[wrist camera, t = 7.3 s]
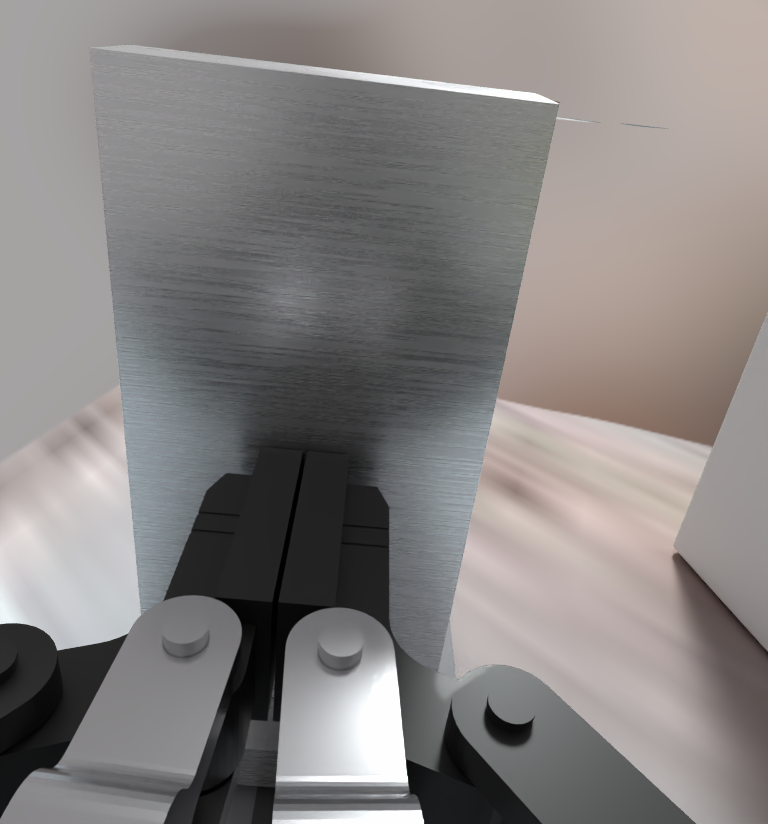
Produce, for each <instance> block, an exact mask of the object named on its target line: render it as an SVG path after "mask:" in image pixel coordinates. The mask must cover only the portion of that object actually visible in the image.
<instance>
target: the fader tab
mask: <svg viewBox="0 0 768 824" xmlns="http://www.w3.org/2000/svg"><path fill="white" fill-rule="evenodd" d="M89 50H90V61H91V72H92V83H93V94H94V105H95V116H96V127H97V136H98V148H99V159H100V170H101V181H102V191H103V203H104V214H105V225H106V236H107V247H108V258H109V268H110V280H111V291H112V302H113V313H114V324H115V335H116V346H117V357H118V367H119V379H120V389H121V400H122V411H123V422H124V433H125V444H126V455H127V466H128V477H129V488H130V499H131V510H132V521H133V532H134V543H135V554H136V565H137V576H138V587H139V598H140V609H141V615H142V614H143V613H144V612H146V611H147V610H148V609H149V608H151V607H153V606H155V605H156V604H158V603H160V602H163V600H164V598H165V595H166V592H167V590H168V587H169V585H170V582H171V580H172V577H173V575H174V572H175V570H176V567H177V565H178V562H179V559H180V557H181V554H182V552H183V549H184V547H185V544H186V542H187V539H188V537H189V534H190V533H191V531H192V527H193V524H194V521H195V519H196V516H198V512H199V509H200V506H201V504H202V501H203V499H204V496H205V494H206V491H207V489H209V488H210V487H211V486H212V485H213V484H214V483H216V482H217V481H218V480H219V479H220V478H221V477H222V476H224V475H225V474H226V473H234V474H244V475H252V474H253V471H254V467H255V464H256V461H257V458H258V454H259V451H260V449H261V447H270V448H280V449H291V450H301V451H304V466H305V461H306V456H307V452H308V451H313V452H324V453H334V454H345V455H349V464H348V474H347V484H353V485H364V486H375V487H378V489H379V491H380V492H381V494H382V495H383V497H384V499H385V500H386V502H387V504H388V505H389V619H390V627H391V630H392V633H393V635H394V637H395V639H396V641H397V643H398V644H399V645H400V647H401V648H402V649H403V650H404V651H405V652H406V653H407V654H408V655H409V656H410V657H412V658H413V659H414V660H415V661H417V662H419V663H420V664H422V665H424V666H426V667H428V668H430V669H432V670H435V671H438V670H439V665H440V660H441V656H442V651H443V646H444V642H445V637H446V632H447V628H448V623H449V618H450V614H451V609H452V604H453V600H454V595H455V590H456V586H457V581H458V576H459V571H460V567H461V562H462V557H463V553H464V548H465V543H466V539H467V534H468V529H469V525H470V520H471V515H472V511H473V506H474V501H475V496H476V492H477V487H478V482H479V478H480V473H481V468H482V464H483V459H484V454H485V450H486V445H487V440H488V436H489V431H490V426H491V422H492V417H493V412H494V407H495V403H496V398H497V393H498V389H499V384H500V379H501V375H502V370H503V365H504V361H505V356H506V351H507V346H508V342H509V337H510V333H511V328H512V323H513V318H514V314H515V309H516V304H517V300H518V295H519V289H520V286H521V281H522V276H523V272H524V267H525V262H526V258H527V253H528V248H529V243H530V239H531V234H532V229H533V225H534V220H535V215H536V211H537V206H538V201H539V197H540V192H541V187H542V183H543V178H544V173H545V168H546V164H547V159H548V155H549V150H550V145H551V140H552V136H553V131H554V126H555V122H556V117H557V112H558V108H559V104H558V103H556V102H554V101H551V100H549V99H547V98H545V97H543V96H540V95H538V94H535V93H527V92H519V91H510V90H502V89H494V88H485V87H477V86H468V85H460V84H452V83H443V82H435V81H427V80H419V79H410V78H402V77H394V76H386V75H377V74H368V73H360V72H351V71H344V70H336V69H327V68H319V67H310V66H301V65H294V64H285V63H277V62H269V61H261V60H252V59H244V58H236V57H227V56H219V55H210V54H202V53H194V52H186V51H177V50H169V49H160V48H153V47H144V46H136V45H124V46H110V47H109V46H108V47H94V48H89ZM303 472H304V468H303ZM274 685H275V681H274ZM273 707H274V686H273V692H272V698H271V704H270V709H269V715H268V721H258V720H251V721H250V726H249V731H248V736H247V741H246V746H245V750H244V754H243V757H242V759H241V761H240V773H239V778H238V782H237V785H247V786H261V787H275V786H276V773H277V759H278V745H279V731H280V722H276V721H273Z"/></svg>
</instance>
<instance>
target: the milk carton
mask: <svg viewBox="0 0 768 824" xmlns="http://www.w3.org/2000/svg"><path fill="white" fill-rule="evenodd" d="M674 548H675V549H676V550H677V551H678V553H679V554H680V555H681V556H682V557H683V558H684V559H685V560H686V562H687V563H688V564H689V565H690V566H691V567H692V568H693V569H694V570H695V572H696V573H697V574H698V575H699V576H700V577H701V578H702V579H703V580H704V582H705V583H706V584H707V585H708V586H709V587H710V588H711V589H712V590H713V592H714V593H715V594H716V595H717V596H718V597H719V598H720V599H721V600H722V602H723V603H724V604H725V605H726V606H727V607H728V608H729V609H730V610H731V612H732V613H733V614H734V615H735V616H736V617H737V618H738V619H739V620H740V622H741V623H742V624H743V625H744V626H745V627H746V628H747V629H748V630H749V632H750V633H751V634H752V635H753V636H754V637H755V638H756V639H757V640H758V641H759V643H760V644H761V645H762V646H763V647H764V648H765V649H766V650H767V651H768V313H767V315H766V318H765V320H764V323H763V325H762V327H761V330H760V332H759V335H758V337H757V340H756V342H755V345H754V347H753V350H752V352H751V355H750V357H749V360H748V362H747V365H746V367H745V369H744V372H743V374H742V377H741V379H740V382H739V384H738V387H737V389H736V392H735V394H734V397H733V399H732V401H731V404H730V406H729V409H728V412H727V414H726V416H725V419H724V421H723V424H722V426H721V429H720V431H719V434H718V436H717V438H716V441H715V443H714V446H713V448H712V451H711V453H710V456H709V458H708V461H707V463H706V466H705V468H704V471H703V473H702V475H701V478H700V480H699V483H698V485H697V488H696V490H695V493H694V495H693V498H692V500H691V503H690V505H689V508H688V510H687V512H686V515H685V517H684V520H683V522H682V525H681V527H680V530H679V532H678V535H677V537H676V540H675V542H674Z"/></svg>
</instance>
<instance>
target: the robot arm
mask: <svg viewBox="0 0 768 824" xmlns="http://www.w3.org/2000/svg"><path fill="white" fill-rule="evenodd" d="M348 464H349V455H345V454H334V453H324V452H313V451H308V452H307V456H306V461H305V466H304V451H301V450H291V449H280V448H270V447H261V449H260V451H259V454H258V458H257V461H256V464H255V467H254V471H253V474H252V475H244V474H234V473H226V474H225V475H224V476H222V477H221V478H220V479H219V480H218V481H217V482H216V483H214V484H213V485H212V486H211V487H210V488H209V489H207V491H206V494H205V496H204V499H203V501H202V504H201V506H200V509H199V512H198V516H196V519H195V521H194V524H193V527H192V531H191V533H190V534H189V537H188V539H187V542H186V544H185V547H184V549H183V552H182V554H181V557H180V559H179V562H178V565H177V567H176V570H175V572H174V575H173V577H172V580H171V582H170V585H169V587H168V590H167V592H166V595H165V598H164V600H163V602H160V603H158V604H156V605H155V606H153V607H151V608H149V609H148V610H147V611H146V612H144V613H143V614H142V615H141V616H140V617H139V618H138V619H137V620H136V622H135V623H134V625H133V626H132V628H131V630H130V632H129V633H128V634H126V635H124V636H122V637H119V638H117V639H114V640H111V641H107V642H102V643H98V644H92V645H87V646H81V647H75V648H70V649H64V650H58V651H57V649H56V646H55V643H54V641H53V640H52V639H51V637H50V636H49V635H48V634H47V633H45V632H44V631H43V630H41V629H39V628H37V627H34V626H30V625H26V624H18V623H9V624H0V824H226V821H227V817H228V814H229V810H230V807H231V803H232V799H233V796H234V792H235V789H236V785H237V782H238V778H239V773H240V761H241V759H242V757H243V754H244V750H245V746H246V741H247V736H248V731H249V726H250V721H251V720H258V721H268V715H269V709H270V704H271V698H272V692H273V686H274V707H273V721H276V722H280V731H279V745H278V759H277V773H276V786H275V795H274V805H273V818H272V824H696V823H695V822H694V821H692V820H691V819H690V818H689V817H688V816H687V815H686V814H685V813H684V812H683V811H682V810H681V809H680V808H678V807H677V806H676V805H675V804H674V803H673V802H672V801H671V800H670V799H669V798H668V797H667V796H666V795H664V794H663V793H662V792H661V791H660V790H659V789H658V788H657V787H656V786H655V785H654V784H653V783H652V782H650V781H649V780H648V779H647V778H646V777H645V776H644V775H643V774H642V773H641V772H640V771H639V770H638V769H636V768H635V767H634V766H633V765H632V764H631V763H630V762H629V761H628V760H627V759H626V758H625V757H624V756H622V755H621V754H620V753H619V752H618V751H617V750H616V749H615V748H614V747H613V746H612V745H611V744H610V743H608V742H607V741H606V740H605V739H604V738H603V737H602V736H601V735H600V734H599V733H598V732H597V731H596V730H594V729H593V728H592V727H591V726H590V725H589V724H588V723H587V722H586V721H585V720H584V719H583V718H582V717H580V716H579V715H578V714H577V713H576V712H575V711H574V710H573V709H572V708H571V707H570V706H569V705H568V704H566V703H565V702H564V701H563V700H562V699H561V698H560V697H559V696H558V695H557V694H556V693H555V692H554V691H552V690H551V689H550V688H549V687H548V686H547V685H546V684H545V683H543V682H542V681H541V680H540V679H538V678H537V677H535V676H533V675H532V674H530V673H528V672H526V671H524V670H521V669H518V668H515V667H511V666H506V665H486V666H482V667H478V668H476V669H474V670H472V671H470V672H468V673H467V674H466V675H464V676H463V677H462V678H461V679H460V680H459V679H456V678H454V677H451V676H448V675H446V674H443V673H440V672H438V671H435V670H432V669H430V668H428V667H426V666H424V665H422V664H420V663H419V662H417V661H415V660H414V659H413V658H412V657H410V656H409V655H408V654H407V653H406V652H405V651H404V650H403V649H402V648H401V647H400V645H399V644H398V643H397V641H396V639H395V637H394V635H393V633H392V630H391V627H390V619H389V505H388V504H387V502H386V500H385V499H384V497H383V495H382V494H381V492H380V491H379V489H378V487H375V486H364V485H353V484H347V474H348ZM303 468H304V472H303ZM274 681H275V685H274Z"/></svg>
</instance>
